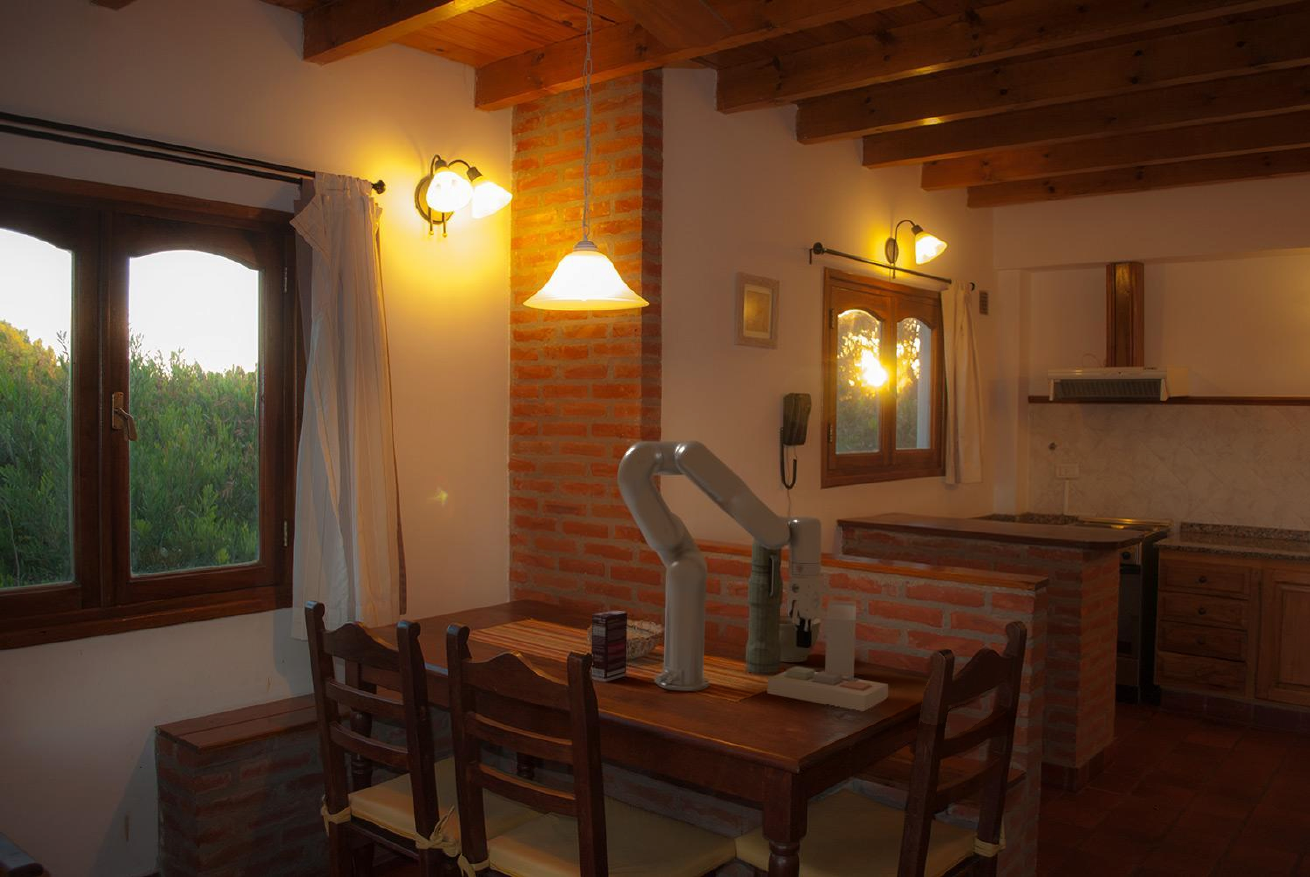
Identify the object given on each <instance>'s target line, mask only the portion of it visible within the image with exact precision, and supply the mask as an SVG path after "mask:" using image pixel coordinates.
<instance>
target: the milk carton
mask: <svg viewBox="0 0 1310 877" xmlns="http://www.w3.org/2000/svg"><path fill="white" fill-rule="evenodd" d="M826 610H827V613H826V633H825V634H826V635H825V638H826V639H825V659H824V660H825V661H824V663H825V664H824V665H825V666H824V667H825V669H824V671H826V672H832V673H838V674H842V676H846V677H851V678H855V677H854V676H855V654H856V652H855V651H856V649H855V648H856V645H855V644H856V623H857V620H856V619H857V618H856V616H857V601H851V600H850V601H849V600H848V601H847V600H836V599H835V600H833V599H832V600H831V599H828V600H827V609H826Z"/></svg>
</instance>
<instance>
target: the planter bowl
mask: <svg viewBox="0 0 1310 877" xmlns="http://www.w3.org/2000/svg"><path fill="white" fill-rule="evenodd" d="M799 617H801V616H799ZM820 625H821V620H820V619H818V618H816V619H815V620H814V621H813V628H812V646H811V647H810V648H801V647H797V646H796V631H797V630H796V626H795V625H793V624H792V618H790V617H789V615H788V614H780V629H779V641H780V644H781V662H785V663H794V662H796V663H802V662H806V661H807V660H808V656H809V654H810V653H811V652H812V650H813V649H814V648H815V645H816V643H817V640H818V637H819V633H820Z"/></svg>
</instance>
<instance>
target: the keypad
mask: <svg viewBox="0 0 1310 877" xmlns="http://www.w3.org/2000/svg"><path fill="white" fill-rule="evenodd" d="M819 672H820V671H815V674H816V673H819ZM848 681H855V682H861V683H867V684H871V687H870V688H868V689H866V690H864V691H861V690H855V689H849V688H844V687H841V685H842V684H844V683H846V682H848ZM766 692H767V694H771V695H774V696H780V697H786V698H790V699H796V700H800V701H807V702H811V703H817V704H822V705H826V704H830V705H829V706H831V705H835V706H834V707H837V706H840V707H839V708H842V707H846V708H845V709H847V708H851V709H850V710H852V709H856V710H855V711H857V710H862V711H861V712H863V711H865V710H867V709H868V708H870V707H871V706H873V705H874V704H877V703H879V702H881V701H882V700H884V699H886V698H887V697H888V698H889V684H888V683H882V682H878V681H873V680H872V681H871V680H864V679H860V678H856V677H854V678H851V677H846V676H842V683H840V684H837V685H835V686H833V685H827V684H822V683H816V682H813V678H812V679H810V680H807V681H805V680H799V679H794V678H788V677H786V671H783V672H781V673H778V674H775V675H773V676H770V677H768V678H767V690H766ZM870 709H871V708H870ZM867 711H868V710H867ZM865 712H866V711H865Z"/></svg>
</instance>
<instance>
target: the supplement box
mask: <svg viewBox="0 0 1310 877" xmlns="http://www.w3.org/2000/svg"><path fill="white" fill-rule="evenodd" d="M591 621H592V622H591V623H592V624H591V652H590V653H591V654H593V665H592V669H591V668H590V676H591V675H592V679H593V681H597V682H602V683H607V682H610V681H614V680H618V679H620V678H623V677H626V676H627V643H628V642H627V635H628V630H627V629H628V612H627V611H622V610H608V611H603V612H598V613H592V617H591ZM592 679H591V680H592Z"/></svg>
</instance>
